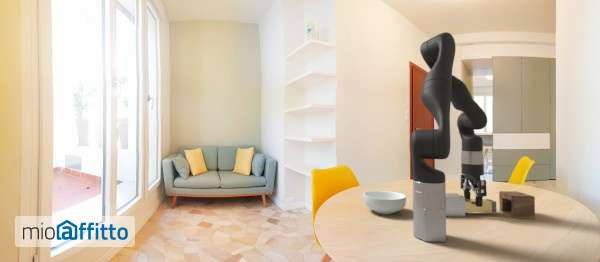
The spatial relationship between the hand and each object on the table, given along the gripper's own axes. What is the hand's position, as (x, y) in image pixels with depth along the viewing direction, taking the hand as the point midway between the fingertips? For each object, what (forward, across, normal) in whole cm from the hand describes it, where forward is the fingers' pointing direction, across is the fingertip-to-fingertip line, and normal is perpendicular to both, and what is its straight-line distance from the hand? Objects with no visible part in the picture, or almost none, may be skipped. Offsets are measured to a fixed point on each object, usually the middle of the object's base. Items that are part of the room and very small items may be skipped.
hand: (472, 203), depth 110 cm
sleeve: (+4, 0, +12) cm, 13 cm away
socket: (+4, -1, -16) cm, 16 cm away
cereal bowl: (+4, +2, +34) cm, 34 cm away
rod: (+3, -1, +5) cm, 6 cm away
